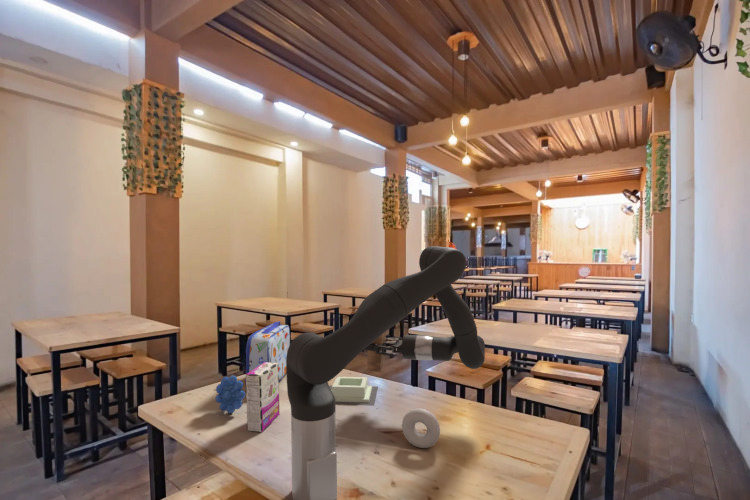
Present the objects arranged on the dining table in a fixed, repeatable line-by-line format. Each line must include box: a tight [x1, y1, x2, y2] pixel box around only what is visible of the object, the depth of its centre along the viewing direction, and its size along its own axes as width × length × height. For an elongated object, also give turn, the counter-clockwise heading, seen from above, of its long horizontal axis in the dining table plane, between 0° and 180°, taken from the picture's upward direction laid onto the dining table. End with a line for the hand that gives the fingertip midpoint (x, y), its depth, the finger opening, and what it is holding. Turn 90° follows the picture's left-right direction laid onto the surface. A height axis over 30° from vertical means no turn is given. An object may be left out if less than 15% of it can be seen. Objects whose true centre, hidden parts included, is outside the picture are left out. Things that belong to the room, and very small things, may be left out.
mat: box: [329, 384, 379, 407], centre depth 128 cm, size 18×16×1 cm
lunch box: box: [244, 321, 291, 385], centre depth 143 cm, size 28×10×22 cm, turn 176°
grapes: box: [215, 375, 246, 414], centre depth 117 cm, size 12×7×12 cm, turn 66°
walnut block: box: [366, 331, 387, 373], centre depth 120 cm, size 4×4×14 cm
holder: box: [331, 376, 373, 403], centre depth 128 cm, size 14×12×4 cm
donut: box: [401, 407, 441, 449], centre depth 95 cm, size 10×4×10 cm, turn 69°
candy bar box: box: [245, 362, 281, 433], centre depth 109 cm, size 11×5×16 cm, turn 168°
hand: (367, 344), depth 121 cm, fingers closed on walnut block, 4 cm apart
